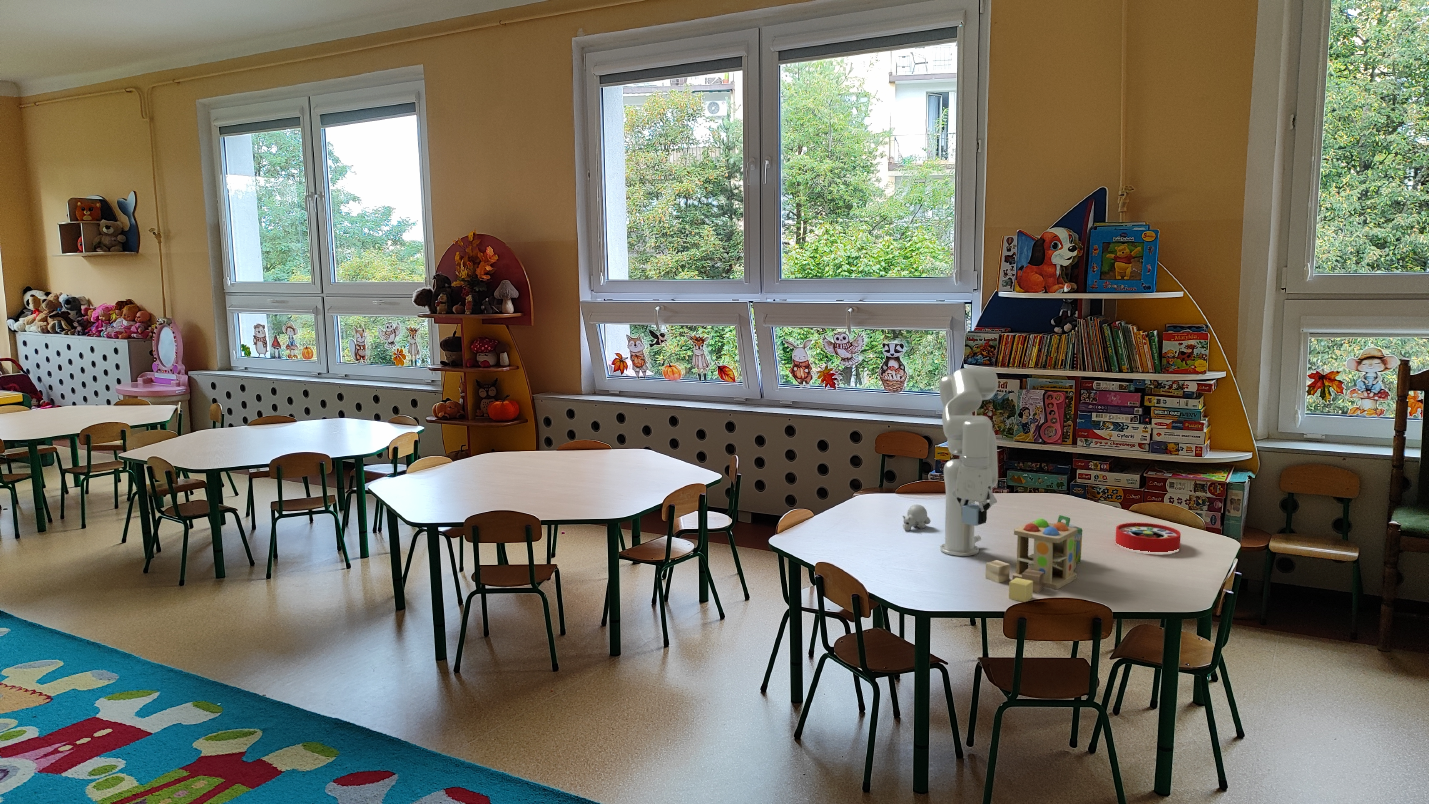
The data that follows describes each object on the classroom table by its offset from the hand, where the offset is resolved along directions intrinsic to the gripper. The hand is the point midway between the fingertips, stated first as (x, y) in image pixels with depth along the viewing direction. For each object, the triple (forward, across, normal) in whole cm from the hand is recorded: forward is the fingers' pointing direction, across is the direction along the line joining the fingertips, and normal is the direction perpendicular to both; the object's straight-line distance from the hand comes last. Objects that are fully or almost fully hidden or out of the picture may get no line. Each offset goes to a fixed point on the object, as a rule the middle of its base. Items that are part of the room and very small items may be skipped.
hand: (973, 520), depth 277 cm
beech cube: (+21, +1, +11) cm, 23 cm away
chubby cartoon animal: (+21, -52, +38) cm, 68 cm away
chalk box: (+21, +5, +42) cm, 47 cm away
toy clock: (+21, +16, +78) cm, 82 cm away
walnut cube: (+21, +13, +11) cm, 27 cm away
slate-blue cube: (+1, 0, 0) cm, 1 cm away
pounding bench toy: (+21, +10, +26) cm, 35 cm away
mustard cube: (+20, +15, +2) cm, 25 cm away
